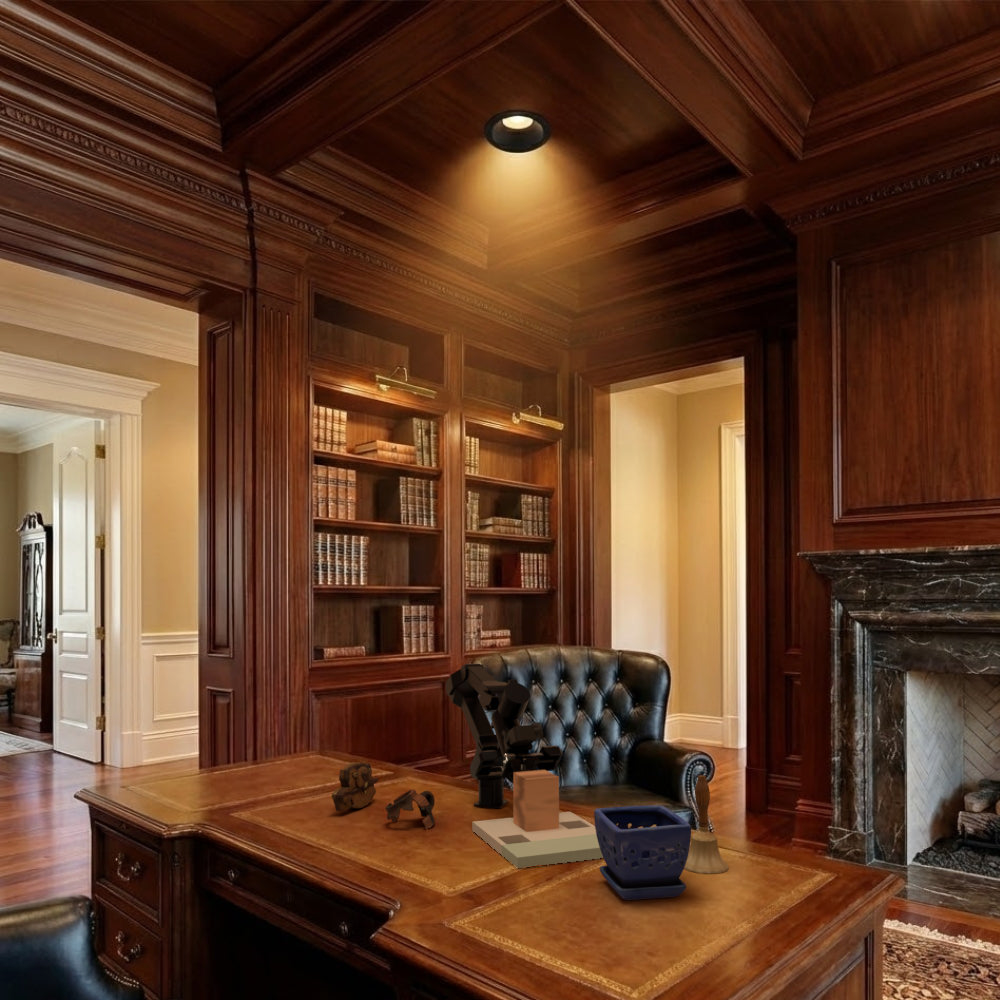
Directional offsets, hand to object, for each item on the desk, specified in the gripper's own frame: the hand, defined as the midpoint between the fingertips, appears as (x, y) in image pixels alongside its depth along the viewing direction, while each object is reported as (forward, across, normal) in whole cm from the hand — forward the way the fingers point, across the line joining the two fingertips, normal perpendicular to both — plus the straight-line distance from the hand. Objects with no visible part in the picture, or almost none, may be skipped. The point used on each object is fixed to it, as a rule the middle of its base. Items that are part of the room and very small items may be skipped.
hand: (528, 795), depth 178 cm
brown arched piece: (-4, -21, +15) cm, 26 cm away
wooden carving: (-17, -29, +27) cm, 43 cm away
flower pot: (+32, +4, -21) cm, 39 cm away
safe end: (+17, 0, -7) cm, 19 cm away
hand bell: (+28, +21, -17) cm, 39 cm away
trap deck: (+8, 0, +2) cm, 8 cm away
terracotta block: (+6, 0, +1) cm, 6 cm away
